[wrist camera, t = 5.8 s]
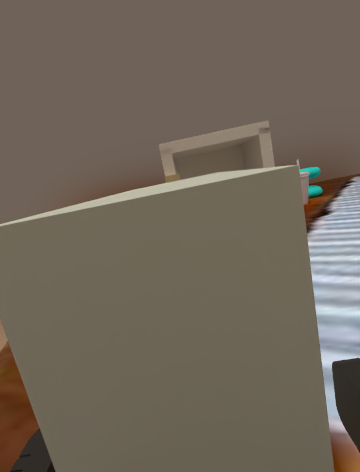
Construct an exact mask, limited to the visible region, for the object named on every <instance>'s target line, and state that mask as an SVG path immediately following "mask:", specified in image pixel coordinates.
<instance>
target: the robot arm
mask: <svg viewBox="0 0 360 472" xmlns="http://www.w3.org/2000/svg"><path fill="white" fill-rule="evenodd" d="M332 371H333V381H334V390H335V399H336V406H337V410H338V413H339V416H340V419H341V421H342V423H343V425H344V427H345V429H346V431H347V432H348V434H349V435H350V437H351V439H352V440H353V442H354V444H355V445H356V447H357V449H358V450H359V452H360V358H355V359H348V360H341V361H335V362H333V363H332ZM10 472H56V471H55V469H54V466H53V463H52V460H51V458H50V455H49V452H48V449H47V447H46V444H45V441H44V438H43V436H42V433H41V430H40V429H39V430H38V431H37V432H36V433H35V434H34V435H33V436H32V437H31V438H30V439H29V441H28V443H27V444H26V446H25V448H24V449H23V451H22V452H21V454H20V458H19V459H17V461H16V462H15V464H14V466H13V467H12V469H11V471H10Z"/></svg>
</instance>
